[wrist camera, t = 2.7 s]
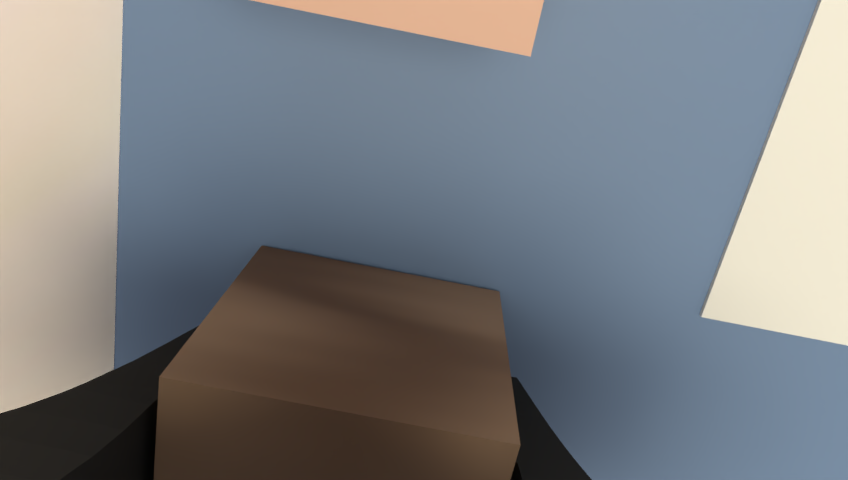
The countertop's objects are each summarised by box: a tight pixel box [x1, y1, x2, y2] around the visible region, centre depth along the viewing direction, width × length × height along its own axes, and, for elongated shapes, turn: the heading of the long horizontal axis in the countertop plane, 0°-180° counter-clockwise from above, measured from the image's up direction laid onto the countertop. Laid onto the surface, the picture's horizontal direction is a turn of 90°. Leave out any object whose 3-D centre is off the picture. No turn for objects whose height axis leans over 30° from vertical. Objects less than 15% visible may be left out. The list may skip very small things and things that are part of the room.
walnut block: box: [154, 246, 520, 480], centre depth 11 cm, size 4×4×4 cm
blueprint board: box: [114, 0, 848, 480], centre depth 12 cm, size 18×14×1 cm
